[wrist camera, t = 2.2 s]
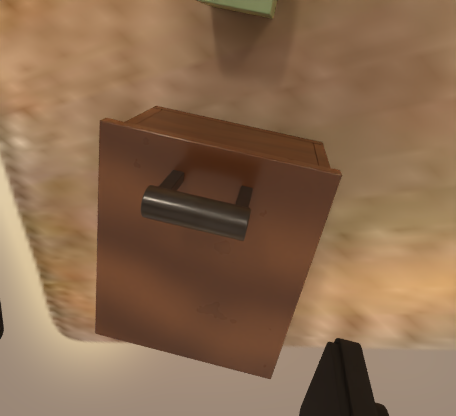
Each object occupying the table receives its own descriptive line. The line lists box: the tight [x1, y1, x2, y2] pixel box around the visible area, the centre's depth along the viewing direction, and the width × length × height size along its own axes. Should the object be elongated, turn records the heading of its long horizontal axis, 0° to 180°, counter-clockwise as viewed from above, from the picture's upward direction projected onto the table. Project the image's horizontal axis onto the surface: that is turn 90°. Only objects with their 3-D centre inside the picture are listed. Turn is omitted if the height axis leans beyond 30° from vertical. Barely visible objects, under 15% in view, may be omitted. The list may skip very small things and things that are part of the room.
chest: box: [126, 106, 330, 168], centre depth 28 cm, size 16×14×9 cm
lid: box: [95, 118, 342, 379], centre depth 21 cm, size 16×14×5 cm
